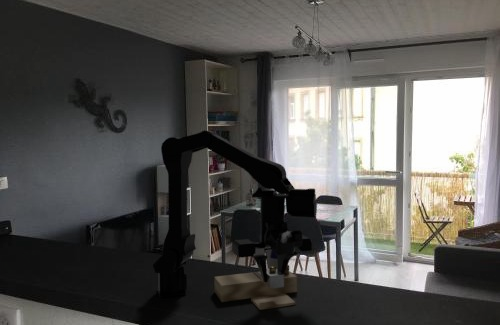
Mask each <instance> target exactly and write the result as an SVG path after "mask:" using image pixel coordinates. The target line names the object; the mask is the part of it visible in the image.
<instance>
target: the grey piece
mask: <svg viewBox="0 0 500 325" xmlns="http://www.w3.org/2000/svg"><path fill="white" fill-rule="evenodd" d="M266 269H267V282H264V281H263V278H262V282H263V283H264V284H265V285H266V286H267V287H269V288H270V289H273V288H281V287H284V274H283V273H281V272H280V271H279V270H277V269H276V266H269V268H268V267H267V268H266Z"/></svg>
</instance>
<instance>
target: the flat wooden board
mask: <svg viewBox="0 0 500 325" xmlns="http://www.w3.org/2000/svg"><path fill="white" fill-rule="evenodd" d="M250 301H251V302H252V303H253V304H254V305H255V307H256V308H257V309H258V310H259V311H263V310H267V309H268V310H270V309H275V308H282V307H290V306H296V301H295V300H294V299H292V298H291V297H290V296H289V295H287V293H285V294H277V295H270V296H262V297H255V298H250Z"/></svg>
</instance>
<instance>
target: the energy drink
mask: <svg viewBox="0 0 500 325" xmlns="http://www.w3.org/2000/svg"><path fill="white" fill-rule="evenodd" d="M269 246H270V245H269ZM269 266H276V269H277V270H278V264H277V255H275V254H274V253H273V250H272V249H270V250H267V269H268V268H269Z"/></svg>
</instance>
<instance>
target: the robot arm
mask: <svg viewBox="0 0 500 325" xmlns="http://www.w3.org/2000/svg"><path fill="white" fill-rule="evenodd" d="M160 149H161V150H160V151H161V156H162V163H163V165H164V166H165V169H166V172H167V179H168V181H167V182H168V183H167V184H168V185H167V186H168V193H167V194H168V196H167V197H168V199H167V200H168V203H167V204H168V208H167V209H168V211H167V212H168V230H167V233H166V235H165V238H164V241H163V246H162V252H161V253H162V254H161V256H160V257H159V258H158V259H157V260H156V261H155V262H154V263H152V266H153V270H154V273H155V274H158V276H157V277H158V278H157V279H158V284H157V285H158V287H157V293H158V296H159V298H163V299H164V298H168V297H169V298H170V297H177V296H186V295H187V291H186V290H187V281H188V280H187V273H186V272H185V268H184V266H186V265H187V263H188V260H189V259H190V258H191V257H192V256H193V255H194V251H195V250H197V248H196V244H195V242H196V234H195V233H193V234H191V233H190V231H189V228H188V171H189V168H190V167H191V166H190V165H191V163H192V160H193V159H192V158H193V154H194V153H197V152H200V151H202V150H204V149H208V150H210V151H212V152H213V153H214V154H217V155H218V156H220V157H222V158H224V159H225V160H227V161H229V162H231V163H232V164H234V165H236V166H238V167H239V168H241V169H243V171H246V172H247V173H248V174H249V176H250V177H252V179H253V180H254V181H256V182H257V183H258V184H259V185H261V186H258V188H257V189H256V191H254V193H252V194H251V197H252V198H260V218H259V219H258V223H259V224H260V235H258V240H259V242H258V241H257V242H253V241H252V240H250V238H246V239H234V240H233V242H232V244H231V252H232V253H233V254H235V255H236V256H237V257H238V258H249V257H251V258H253V259H254V260H255V263H256V265H257V268H258V270H259V272H260V273H261V276H262V278H263V281H264V282H267V269H268V268H267V261H268V255H267V254H265V251H268V250H270V249H272V250H273V253H274V254H275V255H277V264H278V270H279V271H280V272H281V273H283V274H284V272H285V269H286V267H287V265H289V262H290V260H291V259H292V258H293V257H294V256H297V255H298V252H296V248H297V249H298V250H300V252H311V251H313V248H314V246H313V245H314V244H313V241H312V239H311V238H310V237H308V236H306V235H303V232H302V231H301V230H291V231H289V229H288V222H287V221H285V220H286V219H285V218H286V217H285V216H286V215H285V214H286V213H287V214H288V215H290V217H291V218H301V219H304V218H305V219H316V218H317V212H318V210H317V209H318V201H317V196H316V189H315V188H295V187H294V185H293V184H292V183H291V181H290V179H288V177H287V171H286V168H285V167H284V166H283V165H282V164H280V163H278V162H275V161H272V160H269V159H265V158H262V157H258V156H256V155H254V154H252V153H250V152H249V151H246V150H245V149H243V148H241V147H239V146H238V145H236V144H235V143H232V142H231V141H229V140H228V139H226V138H223V137H222V136H220V135H218V134H217V133H216V132H215V131H213V130H202V131H200V132H197V133H194V134H190V135H187V136H183V137H182V136H181V137H179V136H177V137H175V136H171V137H167V138H166V139H165V140H164V141H163V142H162V144H161V148H160ZM264 188H265V189H264ZM285 200H286V201H285ZM285 209H286V211H285ZM285 212H286V213H285ZM269 245H270V246H269Z"/></svg>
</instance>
